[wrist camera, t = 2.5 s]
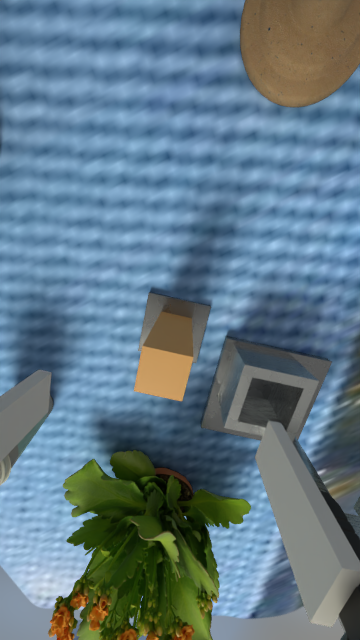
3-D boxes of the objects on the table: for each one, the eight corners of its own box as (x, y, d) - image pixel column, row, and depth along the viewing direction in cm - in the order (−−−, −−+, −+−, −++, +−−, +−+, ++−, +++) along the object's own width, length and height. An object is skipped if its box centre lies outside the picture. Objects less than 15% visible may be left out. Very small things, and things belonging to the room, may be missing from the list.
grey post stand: (225, 336, 30) (317, 523, 9) (364, 367, 30) (785, 621, 9) (200, 422, 33) (220, 706, 12) (324, 449, 34) (555, 771, 12)
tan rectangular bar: (161, 311, 29) (142, 345, 17) (191, 318, 29) (193, 357, 17) (155, 340, 30) (133, 391, 18) (184, 346, 30) (182, 401, 18)
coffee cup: (-4, 381, 33) (-108, 447, 21) (49, 370, 32) (-29, 432, 21) (20, 429, 35) (-63, 512, 23) (70, 420, 34) (10, 501, 23)
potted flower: (237, 424, 33) (287, 593, 16) (249, 538, 39) (295, 749, 22) (77, 440, 35) (-27, 606, 18) (111, 546, 41) (57, 747, 24)
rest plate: (149, 292, 29) (148, 292, 28) (210, 305, 29) (210, 306, 28) (139, 348, 31) (138, 350, 30) (195, 361, 31) (196, 363, 30)
